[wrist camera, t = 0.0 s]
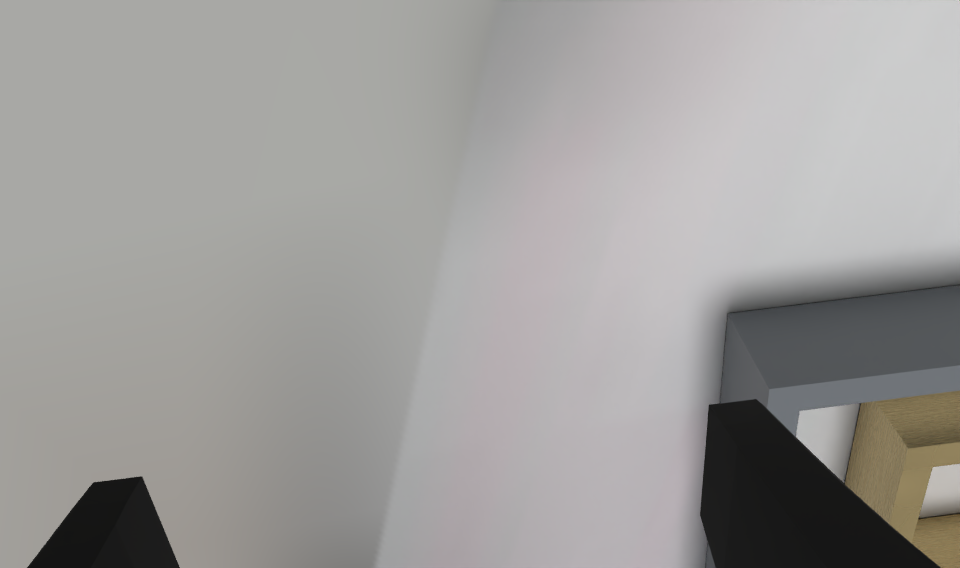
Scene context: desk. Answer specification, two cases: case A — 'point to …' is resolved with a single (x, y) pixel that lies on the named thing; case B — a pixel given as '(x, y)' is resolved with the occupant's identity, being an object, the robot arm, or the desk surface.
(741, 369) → the walled box
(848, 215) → the desk surface
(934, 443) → the frame
